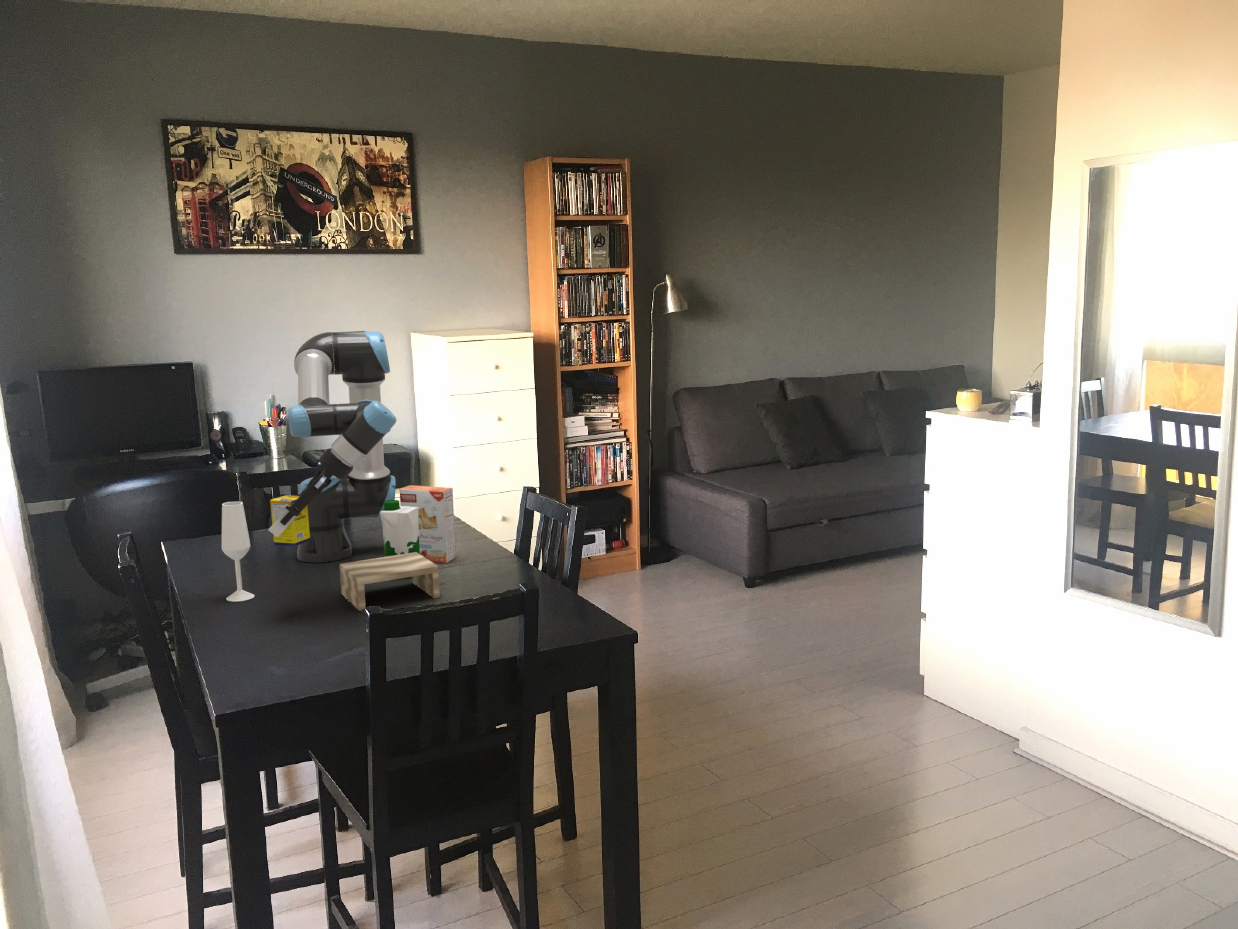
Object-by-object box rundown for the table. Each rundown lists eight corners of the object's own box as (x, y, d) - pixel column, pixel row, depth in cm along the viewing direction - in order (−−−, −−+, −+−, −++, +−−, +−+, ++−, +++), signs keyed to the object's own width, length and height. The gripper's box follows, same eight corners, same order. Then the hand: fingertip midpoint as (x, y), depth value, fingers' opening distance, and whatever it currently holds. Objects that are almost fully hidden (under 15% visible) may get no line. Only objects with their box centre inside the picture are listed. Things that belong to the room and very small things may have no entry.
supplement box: (310, 540, 230) (307, 495, 228) (294, 547, 224) (290, 500, 222) (290, 539, 232) (286, 494, 230) (273, 545, 226) (269, 499, 224)
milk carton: (394, 569, 265) (390, 497, 262) (425, 570, 264) (421, 498, 260) (380, 578, 257) (376, 504, 254) (412, 579, 255) (408, 505, 252)
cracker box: (402, 560, 274) (398, 488, 270) (413, 555, 279) (409, 484, 276) (446, 564, 269) (442, 490, 266) (456, 559, 275) (453, 486, 271)
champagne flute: (226, 595, 244) (218, 502, 240) (254, 592, 247) (247, 499, 242) (225, 602, 238) (217, 507, 234) (254, 599, 240) (246, 505, 236)
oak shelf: (341, 594, 243) (339, 563, 242) (418, 581, 253) (416, 552, 252) (359, 611, 230) (357, 579, 228) (439, 597, 240) (438, 566, 238)
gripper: (350, 476, 218) (281, 550, 218) (358, 460, 238) (295, 529, 238) (324, 453, 216) (254, 529, 216) (334, 440, 236) (270, 509, 236)
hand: (276, 529), depth 227 cm, fingers closed on supplement box, 8 cm apart
